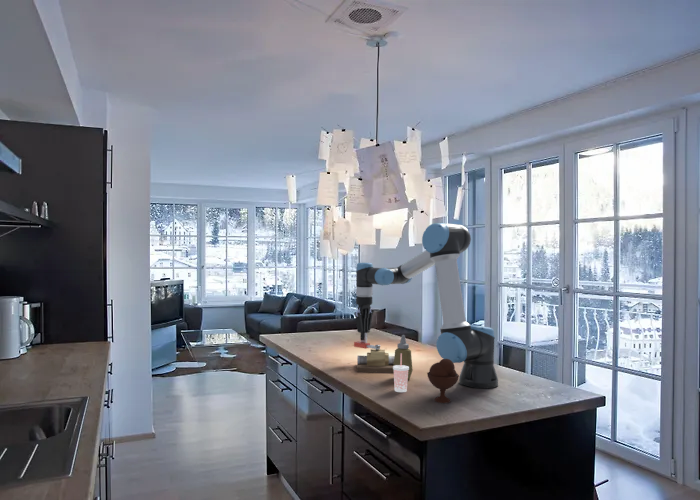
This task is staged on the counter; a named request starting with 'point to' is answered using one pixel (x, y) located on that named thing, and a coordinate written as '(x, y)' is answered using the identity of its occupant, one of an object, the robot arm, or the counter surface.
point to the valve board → (374, 368)
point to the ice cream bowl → (443, 378)
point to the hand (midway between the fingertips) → (363, 346)
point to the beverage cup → (400, 377)
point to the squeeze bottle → (403, 355)
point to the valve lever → (366, 345)
